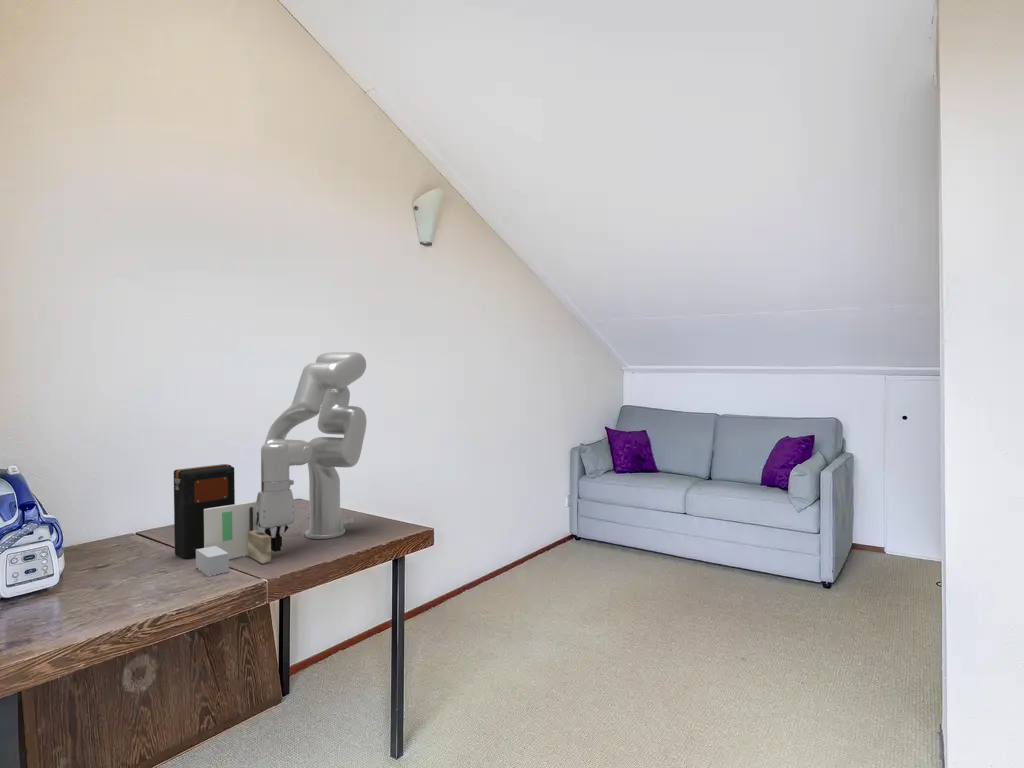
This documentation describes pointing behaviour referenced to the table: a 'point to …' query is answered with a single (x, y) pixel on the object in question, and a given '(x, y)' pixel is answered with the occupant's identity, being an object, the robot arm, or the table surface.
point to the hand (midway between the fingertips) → (275, 550)
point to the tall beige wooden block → (258, 543)
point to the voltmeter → (198, 502)
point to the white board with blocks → (224, 536)
